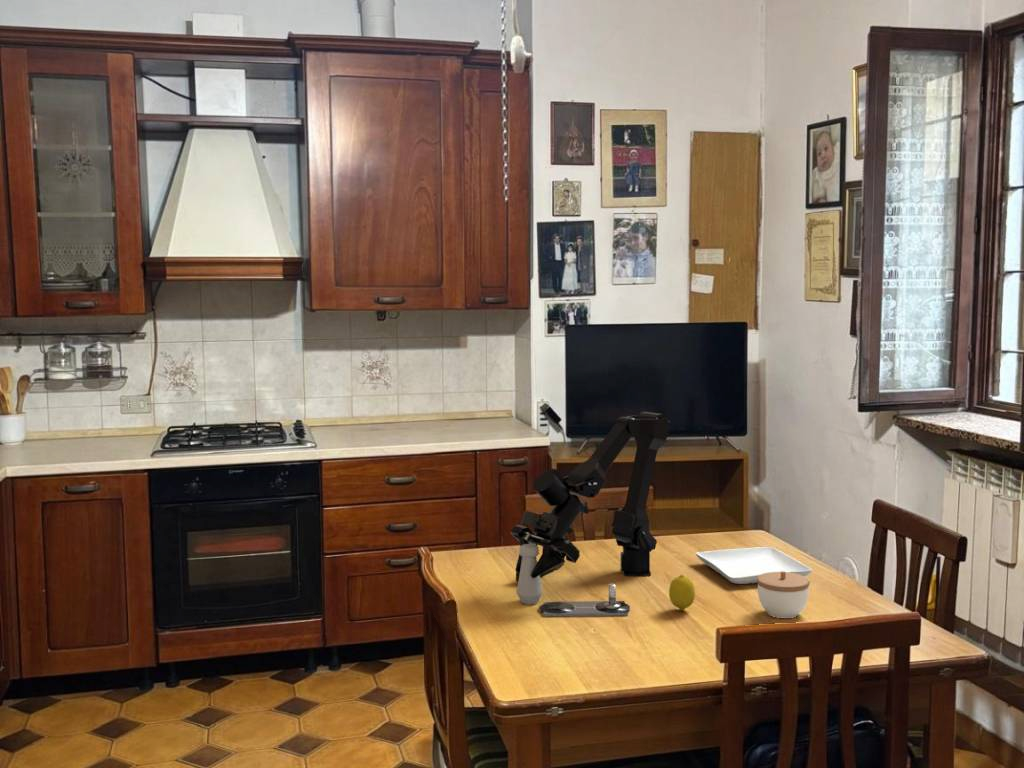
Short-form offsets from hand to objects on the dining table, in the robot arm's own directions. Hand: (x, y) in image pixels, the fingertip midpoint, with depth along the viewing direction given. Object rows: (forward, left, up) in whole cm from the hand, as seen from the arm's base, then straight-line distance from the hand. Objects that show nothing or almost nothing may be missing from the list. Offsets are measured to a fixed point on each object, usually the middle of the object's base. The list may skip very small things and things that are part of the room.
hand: (524, 574), depth 230 cm
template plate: (-13, +5, -7) cm, 16 cm away
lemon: (-34, +6, -7) cm, 35 cm away
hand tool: (-4, -22, -7) cm, 23 cm away
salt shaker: (-1, -1, -7) cm, 7 cm away
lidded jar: (-55, +9, -7) cm, 56 cm away
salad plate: (-55, -21, -7) cm, 59 cm away
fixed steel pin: (-19, +5, -7) cm, 21 cm away
